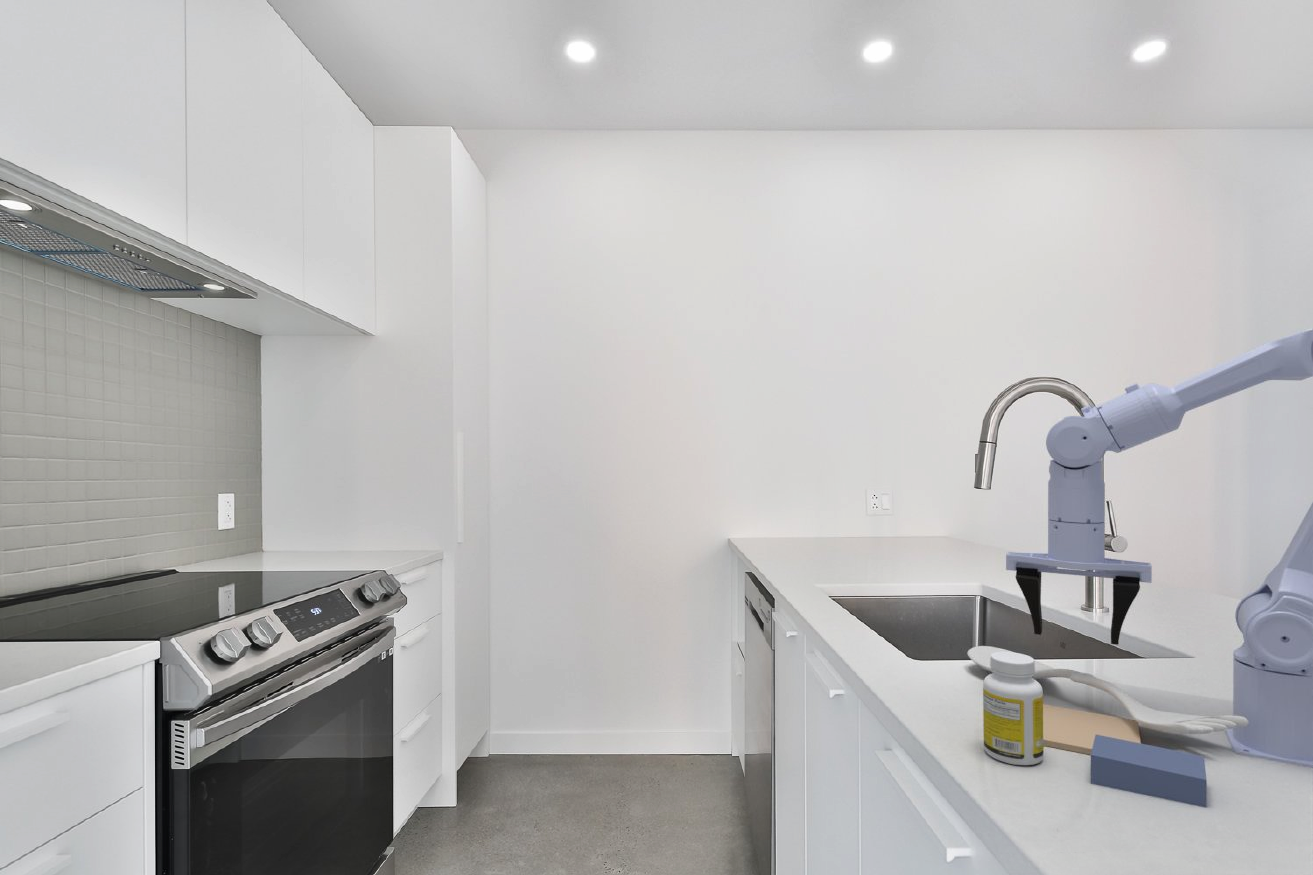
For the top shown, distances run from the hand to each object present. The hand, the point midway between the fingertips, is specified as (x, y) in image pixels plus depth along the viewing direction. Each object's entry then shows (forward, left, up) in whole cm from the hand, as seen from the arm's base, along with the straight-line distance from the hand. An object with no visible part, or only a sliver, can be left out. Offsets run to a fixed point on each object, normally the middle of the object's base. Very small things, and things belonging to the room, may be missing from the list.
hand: (1075, 637), depth 84 cm
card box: (-6, +17, -9) cm, 20 cm away
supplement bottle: (+5, +17, -9) cm, 20 cm away
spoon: (0, -2, -8) cm, 8 cm away
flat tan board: (+1, +8, -8) cm, 11 cm away
